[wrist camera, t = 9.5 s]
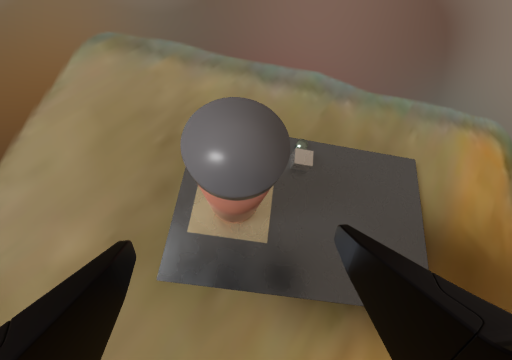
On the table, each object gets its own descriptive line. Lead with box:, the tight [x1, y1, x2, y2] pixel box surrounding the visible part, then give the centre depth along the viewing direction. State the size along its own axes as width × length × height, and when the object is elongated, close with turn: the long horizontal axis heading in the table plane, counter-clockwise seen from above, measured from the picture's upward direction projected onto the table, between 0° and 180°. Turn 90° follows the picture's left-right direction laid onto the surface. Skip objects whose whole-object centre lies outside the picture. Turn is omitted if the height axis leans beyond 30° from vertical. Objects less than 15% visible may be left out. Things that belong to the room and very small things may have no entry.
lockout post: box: [181, 97, 290, 223], centre depth 14 cm, size 4×4×11 cm
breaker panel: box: [157, 137, 429, 306], centre depth 20 cm, size 15×24×3 cm, turn 82°
